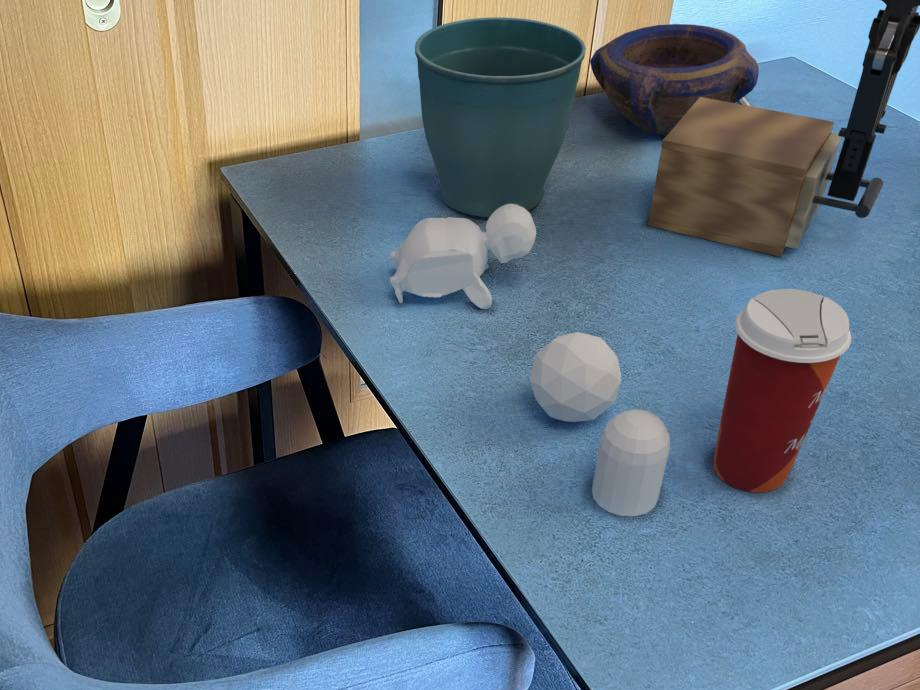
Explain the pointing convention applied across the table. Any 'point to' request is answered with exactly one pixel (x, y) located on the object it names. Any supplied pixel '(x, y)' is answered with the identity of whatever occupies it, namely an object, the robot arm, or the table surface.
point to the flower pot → (496, 107)
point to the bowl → (672, 72)
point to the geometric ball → (576, 377)
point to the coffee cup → (776, 384)
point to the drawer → (815, 191)
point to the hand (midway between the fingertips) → (841, 195)
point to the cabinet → (735, 173)
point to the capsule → (631, 463)
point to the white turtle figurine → (459, 253)
